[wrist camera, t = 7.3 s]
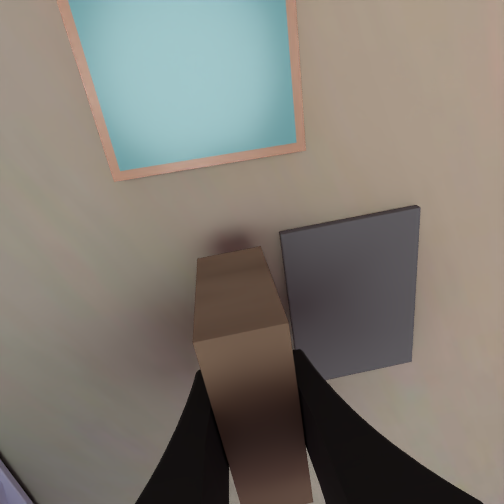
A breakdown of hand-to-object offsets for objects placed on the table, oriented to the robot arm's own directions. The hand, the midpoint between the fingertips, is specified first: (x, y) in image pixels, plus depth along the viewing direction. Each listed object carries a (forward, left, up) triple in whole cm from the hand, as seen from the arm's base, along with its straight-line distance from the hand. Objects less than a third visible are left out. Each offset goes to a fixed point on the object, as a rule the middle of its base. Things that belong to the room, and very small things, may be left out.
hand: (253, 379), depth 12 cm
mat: (-2, -6, -6) cm, 9 cm away
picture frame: (+7, 0, -6) cm, 9 cm away
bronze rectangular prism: (0, 0, -3) cm, 3 cm away
